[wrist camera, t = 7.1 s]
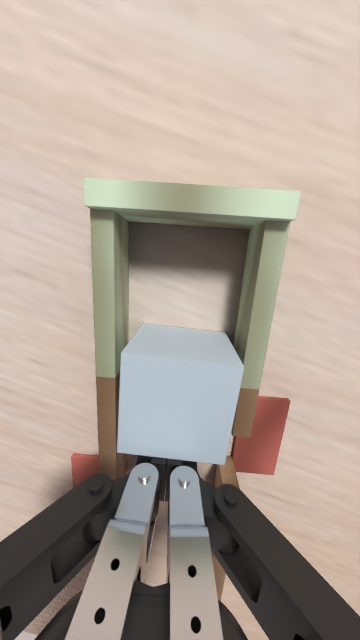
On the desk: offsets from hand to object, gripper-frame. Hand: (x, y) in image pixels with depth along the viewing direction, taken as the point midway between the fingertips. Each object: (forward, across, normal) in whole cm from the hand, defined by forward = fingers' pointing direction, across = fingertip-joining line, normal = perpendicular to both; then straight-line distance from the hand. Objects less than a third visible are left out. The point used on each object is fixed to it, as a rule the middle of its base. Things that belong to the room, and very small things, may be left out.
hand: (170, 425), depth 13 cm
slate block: (+1, 0, -4) cm, 4 cm away
